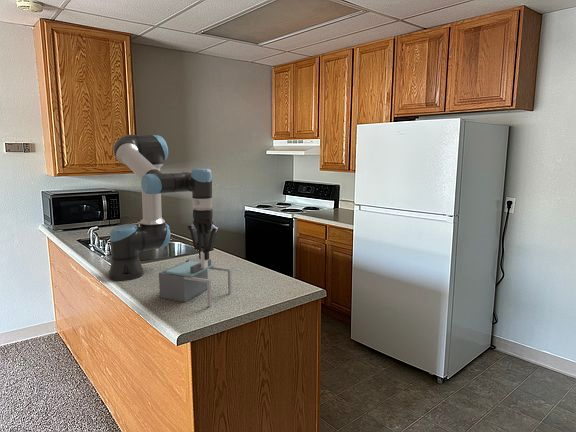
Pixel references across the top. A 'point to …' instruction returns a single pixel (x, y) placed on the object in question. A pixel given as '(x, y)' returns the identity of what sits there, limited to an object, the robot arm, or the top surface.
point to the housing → (188, 285)
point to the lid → (189, 268)
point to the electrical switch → (194, 259)
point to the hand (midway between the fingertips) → (204, 267)
